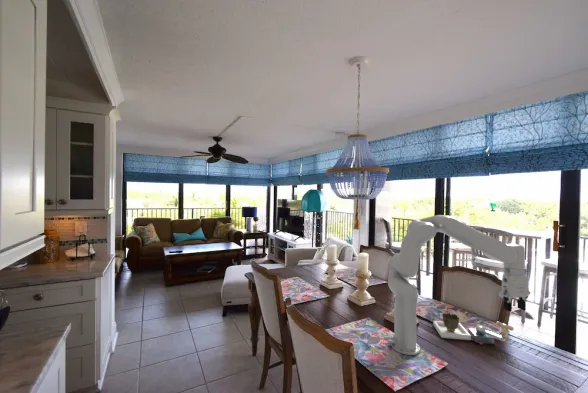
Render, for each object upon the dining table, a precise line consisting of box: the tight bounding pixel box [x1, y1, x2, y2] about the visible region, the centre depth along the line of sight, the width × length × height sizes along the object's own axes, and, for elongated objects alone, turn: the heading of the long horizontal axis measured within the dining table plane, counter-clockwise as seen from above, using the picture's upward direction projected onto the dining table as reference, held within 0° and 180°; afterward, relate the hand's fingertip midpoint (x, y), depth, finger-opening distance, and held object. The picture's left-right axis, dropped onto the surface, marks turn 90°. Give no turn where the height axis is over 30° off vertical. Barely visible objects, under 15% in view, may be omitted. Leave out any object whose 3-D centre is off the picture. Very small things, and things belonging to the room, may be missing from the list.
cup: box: [442, 312, 460, 332], centre depth 137 cm, size 8×7×8 cm
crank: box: [475, 321, 514, 342], centre depth 125 cm, size 15×4×8 cm, turn 29°
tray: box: [432, 320, 472, 341], centre depth 137 cm, size 13×13×2 cm
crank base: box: [467, 327, 495, 345], centre depth 130 cm, size 8×8×3 cm
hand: (514, 309), depth 122 cm, fingers open, 6 cm apart
